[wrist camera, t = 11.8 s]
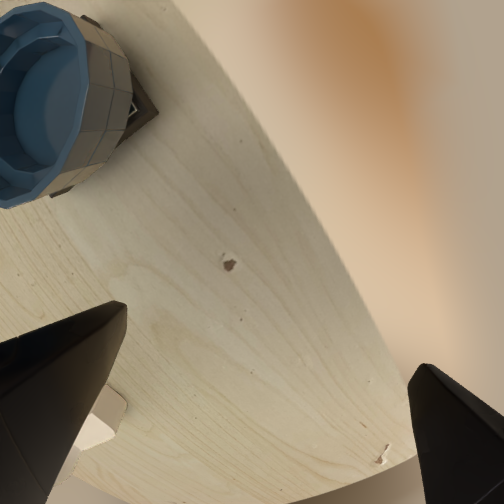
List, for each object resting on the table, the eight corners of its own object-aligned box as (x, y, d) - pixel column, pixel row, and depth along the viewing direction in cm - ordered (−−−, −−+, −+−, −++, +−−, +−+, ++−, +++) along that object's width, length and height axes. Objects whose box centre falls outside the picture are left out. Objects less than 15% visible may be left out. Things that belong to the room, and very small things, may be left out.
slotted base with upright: (132, 405, 25) (94, 505, 15) (55, 445, 29) (24, 508, 19) (50, 330, 22) (-20, 418, 12) (-3, 394, 27) (-44, 452, 17)
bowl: (170, 68, 14) (133, 44, 9) (83, 216, 16) (31, 247, 12) (55, 8, 12) (3, -14, 7) (-11, 140, 14) (-66, 151, 10)
